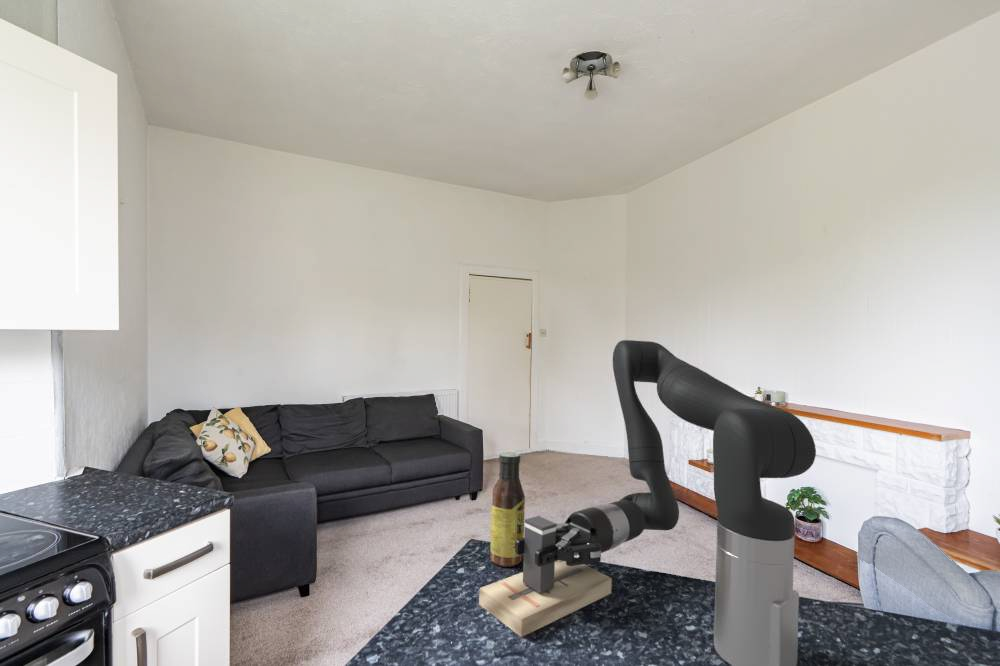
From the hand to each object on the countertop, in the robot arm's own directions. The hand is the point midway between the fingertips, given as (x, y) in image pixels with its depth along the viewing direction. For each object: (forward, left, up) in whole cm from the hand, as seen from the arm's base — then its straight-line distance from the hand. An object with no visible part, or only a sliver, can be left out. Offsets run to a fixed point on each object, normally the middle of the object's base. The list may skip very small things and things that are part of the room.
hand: (526, 553), depth 72 cm
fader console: (0, -5, -8) cm, 10 cm away
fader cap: (0, -3, -6) cm, 6 cm away
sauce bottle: (+14, -8, -9) cm, 18 cm away
